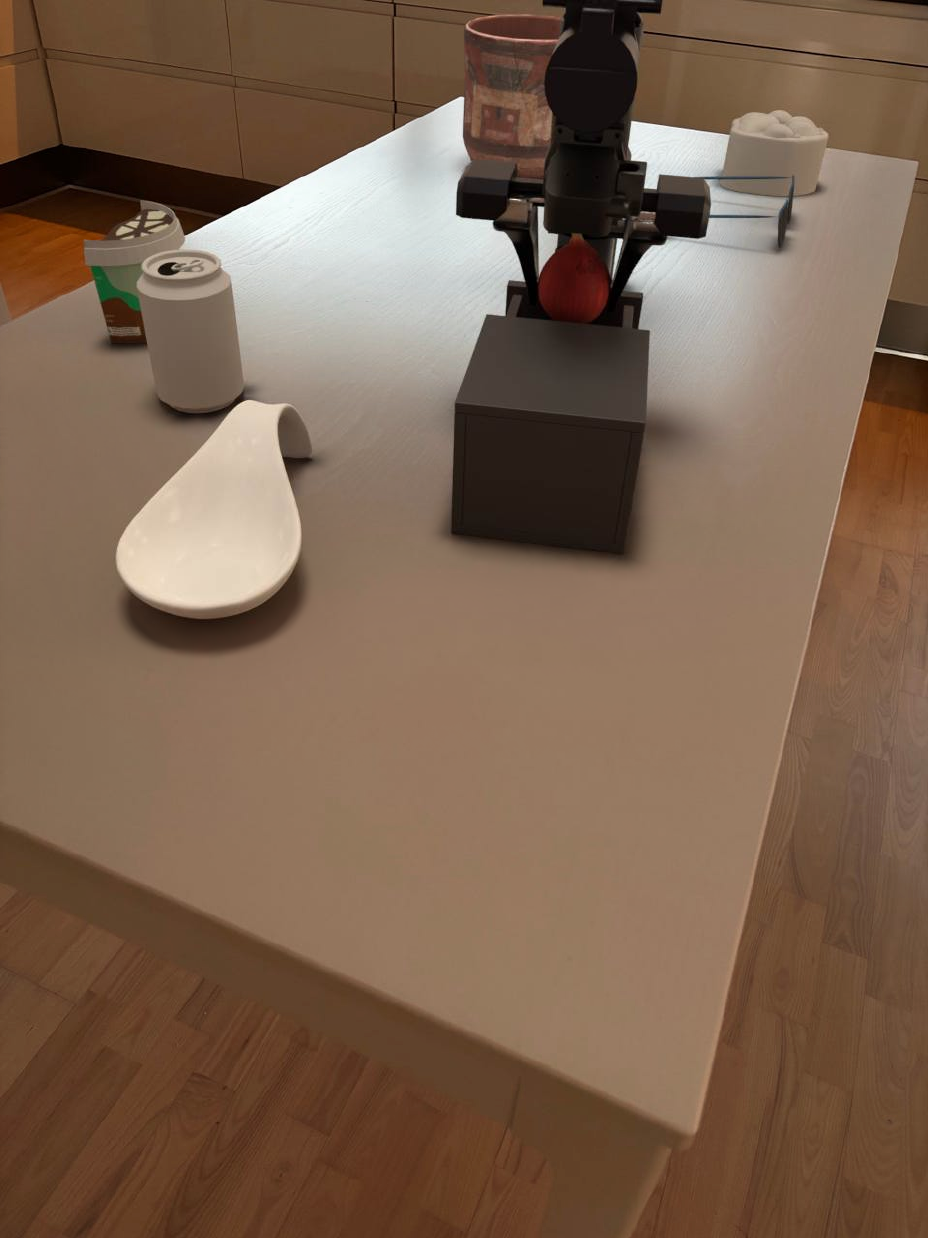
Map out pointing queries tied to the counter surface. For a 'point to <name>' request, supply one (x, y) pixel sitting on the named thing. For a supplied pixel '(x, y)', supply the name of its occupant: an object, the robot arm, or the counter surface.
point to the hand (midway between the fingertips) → (571, 306)
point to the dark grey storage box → (550, 433)
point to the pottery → (508, 90)
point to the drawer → (622, 316)
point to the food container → (130, 266)
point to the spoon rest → (221, 520)
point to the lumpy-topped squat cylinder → (774, 154)
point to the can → (191, 330)
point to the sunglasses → (783, 216)
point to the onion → (574, 283)
